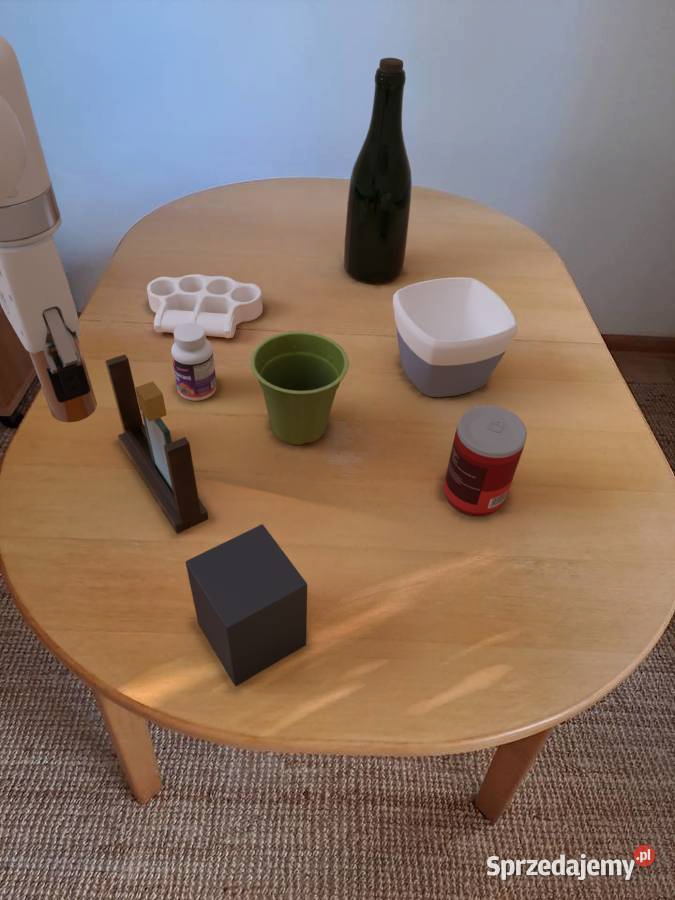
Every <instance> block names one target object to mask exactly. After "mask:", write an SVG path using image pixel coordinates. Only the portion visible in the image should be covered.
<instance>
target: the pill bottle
mask: <svg viewBox="0 0 675 900" xmlns="http://www.w3.org/2000/svg"><path fill="white" fill-rule="evenodd" d="M173 339H174V342H173V344H172V346H171V350H170V353H171V359H172V366H173V371H174V377H175V384H176V388H177V392H178V394H179V395H180V396H181V397H182V398H184V399H185V400H189V401H195V402H196V401H197V402H198V401H203V400H206V399H208V398H210V397H212V396H213V394H214V393H215V392H216V390H217V387H218V385H217V375H216V374H217V373H216V366H215V358H214V357H215V356H214V349H213V348H214V347H213V345H212V343H211V341H209V339H207V336H206V335H205V330H204V328H203V327H202V326H201V325H199V324H196V323H185V324H182V325H180V326H178V327H177V328H176V329H175V330H174V333H173Z"/></svg>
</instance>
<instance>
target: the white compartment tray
mask: <svg viewBox="0 0 675 900" xmlns="http://www.w3.org/2000/svg"><path fill="white" fill-rule="evenodd" d="M146 292H147V293H146V294H147V297H148V303H149V307H150V309H151V311H152V312H153V313H155V316H154V320H153V330H154V332H156V333H171V334H174V330H175V329H176V328H177V327H178V326H180V325H182V324H185V323H196V324H199V325H201V326H202V327H203V328H204V330H205V335H206V337H219V338H226V339H231V338H234V336H235V333H236V329H237V325H239V324H241V323H245V322H251V321H254V320H256V319H258V318H259V317H260V316H261V315H262V313H263V311H264V310H263V309H264V307H263V292H262V289H261V288H260V287H259V285H257V284H255V283H252V282H250V283H247V282H246V283H245V282H239V281H237V280H234V279H233V278H231V277H228V276H223V275H217V276H216V275H215V276H211V275H203V274H201V273H194V274H187V275H183V276H179V277H170V276H164V275H163V276H159V277H157V278H154V279H153V280H151V281H150V282H149V283H148V284H147V286H146Z"/></svg>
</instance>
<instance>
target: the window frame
mask: <svg viewBox="0 0 675 900" xmlns="http://www.w3.org/2000/svg"><path fill="white" fill-rule="evenodd" d="M104 363H105V366H106V369H107V373H108V377H109V381H110V385H111V389H112V392H113V396H114V400H115V404H116V408H117V412H118V416H119V419H120V423H121V428H122V431H123V432H122V433H120V434H117V437H118V441H119V444H120V446H121V448H122V449H123V451H124V452H125V454H126V456H127V457H128V459H129V460H130V462H131V463H132V465H133V467H134V468H135V470H136V472H137V473H138V474H139V476H140V478H141V479H142V481H143V483H144V484H145V486H146V487H147V489H148V490H149V492H150V494H151V496H152V497H153V499H154V500H155V501H156V503H157V505H158V506H159V508H160V510H161V511H162V513H163V515H164V516H165V518H166V519H167V521H168V522H169V524H170V525H171V527H172V529H173V530H174V532H175V533H176V535H178V534H180V533H182V532H184V531H186V530H188V529H191V528H193V527H195V526H197V525H200V524H201V523H203V522H206V521H208V520H209V519H210V517H209V511H208V509H207V508H206V506H205V505H204V504H203V502H202V501H201V499H200V498H199V493H198V487H197V479H196V473H195V469H194V462H193V456H192V450H191V444H190V441H189V440H188V439H187V437H185V436H184V437H182V438H179V439H176V440H174V441H172V442H171V443H169V444H167V445H164V450H165V455H166V460H167V465H168V470H169V475H170V479H171V484H172V489H173V493H172V491H171V490H170V488H169V487H168V485H167V484H166V482H165V481H164V479H163V478H162V476H161V474H160V473H159V471H158V470H157V468H156V467H155V465H154V464H153V460H152V455H151V451H150V446H149V442H148V438H147V433H146V429H145V424H144V420H143V416H142V411H141V410H140V407H139V402H138V398H137V393H136V389H135V388H136V386H135V381H134V378H133V373H132V369H131V364H130V359H129V357H128V356H127V354H121V355H118V356H116V357H113V358H109V359H106V360H105V361H104Z"/></svg>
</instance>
